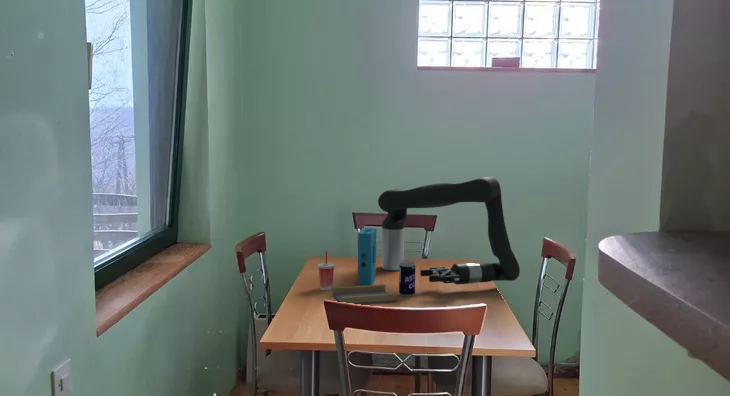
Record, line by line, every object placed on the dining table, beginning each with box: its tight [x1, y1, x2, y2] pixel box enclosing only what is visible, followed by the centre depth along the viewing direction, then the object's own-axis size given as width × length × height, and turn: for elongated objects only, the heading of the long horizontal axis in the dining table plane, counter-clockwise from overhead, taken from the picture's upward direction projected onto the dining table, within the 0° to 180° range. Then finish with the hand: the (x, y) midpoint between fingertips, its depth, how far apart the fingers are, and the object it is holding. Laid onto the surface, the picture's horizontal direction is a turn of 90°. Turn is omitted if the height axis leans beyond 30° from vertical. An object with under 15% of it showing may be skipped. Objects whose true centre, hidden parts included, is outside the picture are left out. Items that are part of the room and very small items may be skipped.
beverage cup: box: [317, 250, 335, 291], centre depth 223 cm, size 6×6×14 cm
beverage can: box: [398, 259, 416, 298], centre depth 216 cm, size 6×6×12 cm
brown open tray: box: [332, 284, 397, 305], centre depth 211 cm, size 13×19×3 cm
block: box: [357, 227, 377, 286], centre depth 232 cm, size 12×5×20 cm, turn 168°
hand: (424, 276), depth 217 cm, fingers open, 8 cm apart
